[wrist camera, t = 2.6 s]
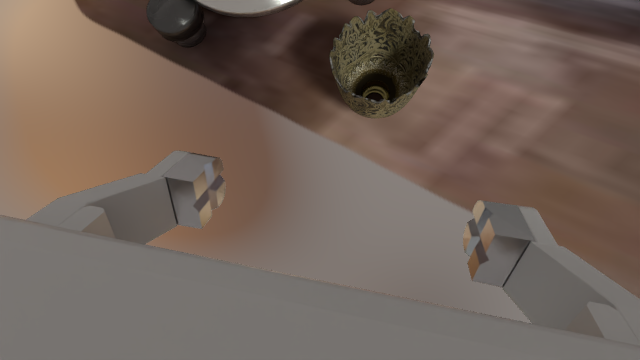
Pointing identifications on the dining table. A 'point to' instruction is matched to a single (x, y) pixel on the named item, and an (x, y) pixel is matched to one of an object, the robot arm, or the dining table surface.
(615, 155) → the dining table surface
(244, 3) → the leveling base
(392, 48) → the cup
